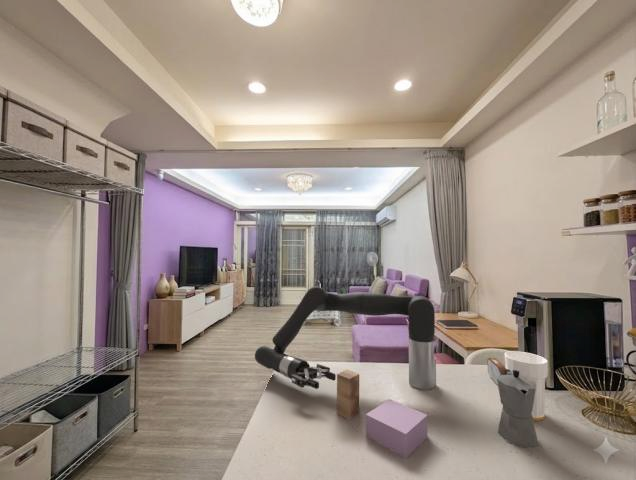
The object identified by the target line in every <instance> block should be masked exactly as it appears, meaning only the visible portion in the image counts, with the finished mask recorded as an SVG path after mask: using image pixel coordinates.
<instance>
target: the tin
mask: <svg viewBox="0 0 636 480" xmlns="http://www.w3.org/2000/svg"><path fill="white" fill-rule="evenodd" d="M486 363H487V364H486V365H487V372H488V375H489V377H490V379H491V380H492V381H493V383H495V385H496V386H498V382H497V378H498V376H499V375H504V372H505V370H507V369H506V368H505V364H503V363H502V362H501V361H500V360H499V359H498V358H497V357H488V358H487V359H486Z"/></svg>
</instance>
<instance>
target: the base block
mask: <svg viewBox="0 0 636 480" xmlns="http://www.w3.org/2000/svg"><path fill="white" fill-rule="evenodd" d="M428 427H429V426H428V414H426V413H424V412H421V411H419V410H416V409H414V408H412V407H409V406H406V405H404V404H401V403H399V402H397V401H394V400H392V399H390V398H388V399H387V400H386V401H384V402H383V403H381V404H380V405H378V406H376V407H375V408H373V409H372V410H371V411H369V412H368V413H366V414H365V436H366V437H367V438H369V439H371V440H373V441H374V442H376V443H378V444H379V445H382V446H383V447H385V448H387V449H388V450H389V449H390V450H391V451H392V452H394V453H397V454H398V455H400V456H401V457H404V458H406V459H407V458H408V456H409V455H411V454H412V453H413V452H414V451H415V450H416V449H417V448H418V447H419V446H420V445H421V444H422V442H424V441H425V440H426V439H427V438H428V437H429V436H428Z"/></svg>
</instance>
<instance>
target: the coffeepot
mask: <svg viewBox="0 0 636 480" xmlns="http://www.w3.org/2000/svg"><path fill="white" fill-rule="evenodd" d="M497 382H498V385H497V387H498V393H499V397H500V399H499V400H500V404H501V405H502V409H501V413H500V414H501V415H500V418H499V419H500V420H499V426H498V429H497V432H498V434H499V436H500V435H501V436H502V437H503V438H502V437H501V436H500V437H501V438H502V439H504V440H505V439H506V440H507V441H506V440H505V441H506V442H508V441H509V442H508V443H510V442H511V443H510V444H512V443H513V444H512V445H514V444H515V446H517V445H518V446H517V447H521V446H522V448H534V447H537V445H538V437H537V436H538V435H537V431H536V428H535V427H536V426H535V420H533V416H532V410H533V403H534V397H535V390H536V384H535V383H534V382H532V381H530V380H528V379H526V378H523V377H519V371H517V370H513V372H511V371H510V370H508V369H507V370H505V372H504V375H499V376H498V378H497Z"/></svg>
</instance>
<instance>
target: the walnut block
mask: <svg viewBox="0 0 636 480" xmlns="http://www.w3.org/2000/svg"><path fill="white" fill-rule="evenodd" d="M359 413H360V373H358V372H355V371H352V370H349V369H344V370H342V371H340V372H339V373H337V374H336V414H338V415H340V416H342V417H345V418H346V419H348V420H351V419H353V418H354V417H355V416H356V415H358V414H359Z"/></svg>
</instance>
